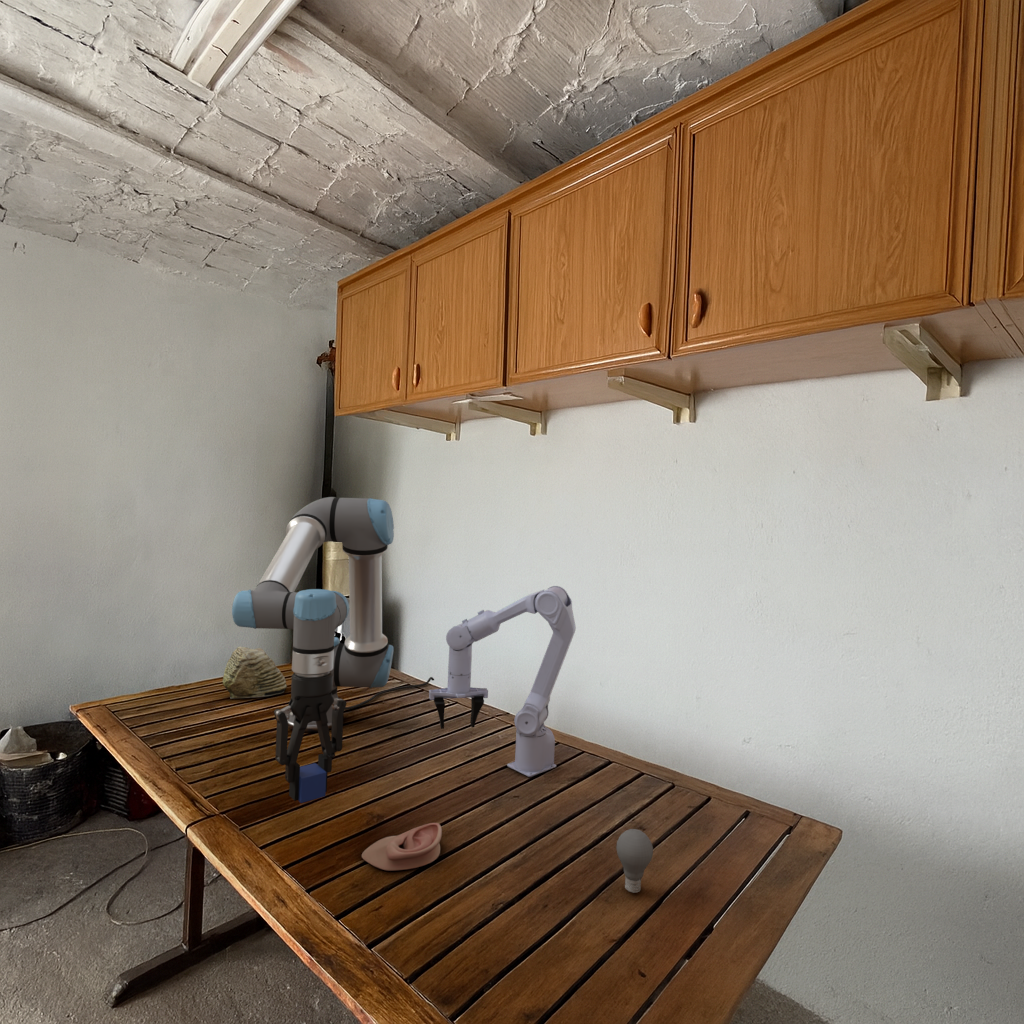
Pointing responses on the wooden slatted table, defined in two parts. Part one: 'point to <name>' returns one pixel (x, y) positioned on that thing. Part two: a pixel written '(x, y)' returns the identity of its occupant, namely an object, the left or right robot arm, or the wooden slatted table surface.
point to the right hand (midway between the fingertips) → (457, 726)
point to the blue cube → (311, 782)
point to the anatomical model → (406, 849)
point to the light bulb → (634, 857)
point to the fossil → (252, 674)
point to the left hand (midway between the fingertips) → (308, 793)
